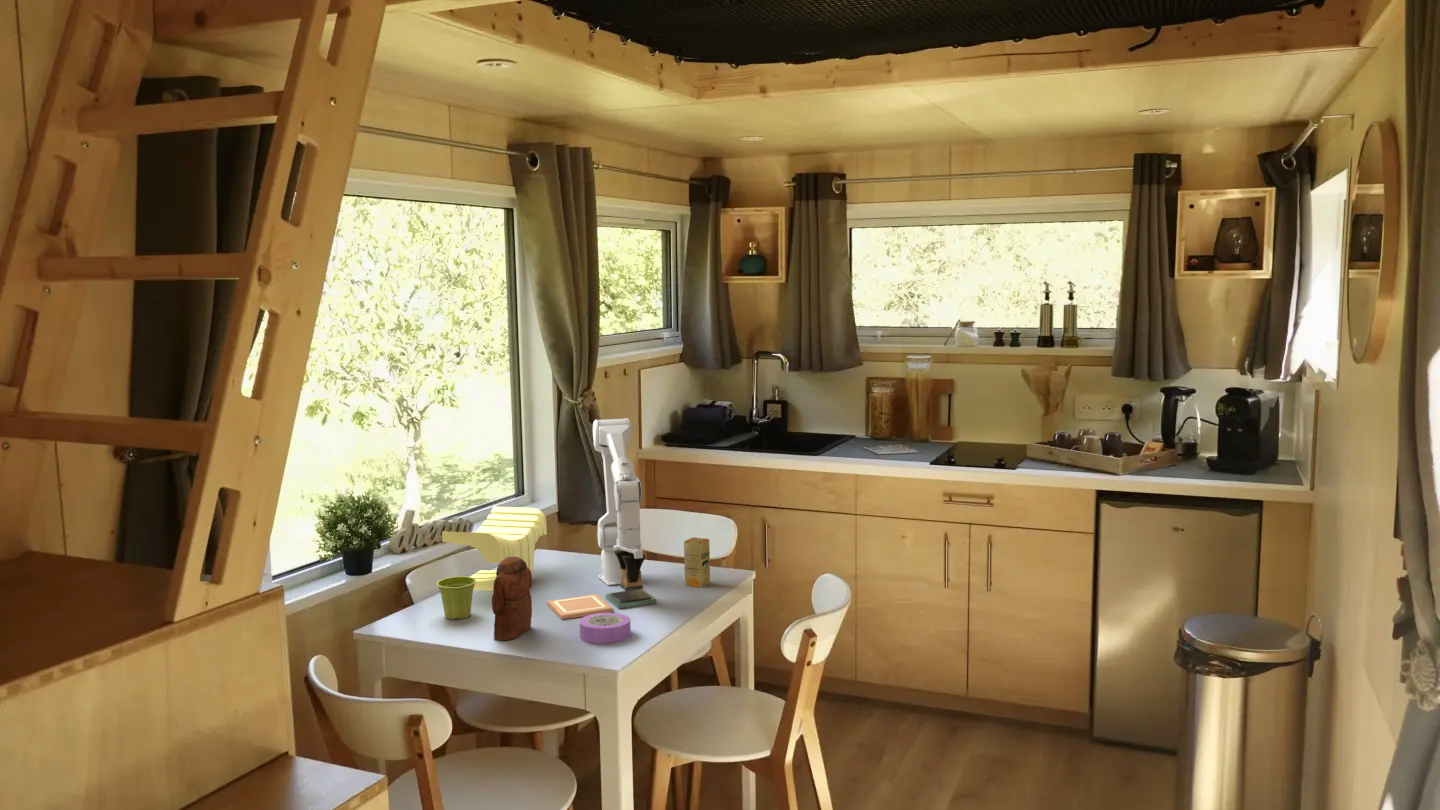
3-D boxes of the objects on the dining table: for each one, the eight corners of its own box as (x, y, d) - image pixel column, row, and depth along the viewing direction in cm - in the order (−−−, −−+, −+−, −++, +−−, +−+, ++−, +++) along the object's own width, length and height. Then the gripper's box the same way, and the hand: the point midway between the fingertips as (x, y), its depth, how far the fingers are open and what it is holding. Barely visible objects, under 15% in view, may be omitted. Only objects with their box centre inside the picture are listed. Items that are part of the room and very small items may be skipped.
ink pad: (605, 598, 275) (605, 592, 275) (642, 593, 279) (642, 587, 279) (618, 609, 266) (618, 603, 266) (656, 603, 270) (656, 597, 270)
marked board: (547, 604, 270) (547, 600, 270) (596, 597, 275) (596, 593, 275) (561, 619, 258) (561, 615, 258) (612, 611, 264) (612, 607, 263)
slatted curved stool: (502, 601, 273) (499, 533, 271) (445, 598, 277) (442, 531, 275) (548, 570, 302) (545, 508, 300) (496, 567, 306) (493, 506, 304)
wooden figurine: (511, 624, 255) (508, 550, 253) (536, 626, 254) (533, 552, 252) (488, 640, 244) (484, 563, 242) (513, 642, 242) (510, 565, 240)
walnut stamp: (619, 586, 273) (619, 562, 272) (636, 584, 275) (636, 560, 274) (625, 591, 269) (625, 566, 268) (643, 588, 271) (642, 564, 270)
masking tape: (606, 624, 255) (605, 608, 254) (641, 634, 247) (640, 618, 247) (569, 637, 246) (568, 621, 246) (604, 648, 239) (604, 631, 238)
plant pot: (485, 613, 264) (484, 579, 263) (457, 624, 256) (455, 589, 255) (459, 607, 269) (457, 574, 268) (430, 618, 261) (428, 583, 260)
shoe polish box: (710, 582, 287) (709, 539, 286) (701, 587, 283) (700, 543, 282) (693, 580, 290) (693, 537, 288) (684, 585, 285) (684, 541, 284)
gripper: (604, 523, 275) (606, 574, 277) (623, 535, 262) (624, 589, 263) (630, 520, 278) (632, 571, 279) (650, 532, 265) (651, 585, 266)
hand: (630, 579), depth 272 cm, fingers closed on walnut stamp, 4 cm apart
